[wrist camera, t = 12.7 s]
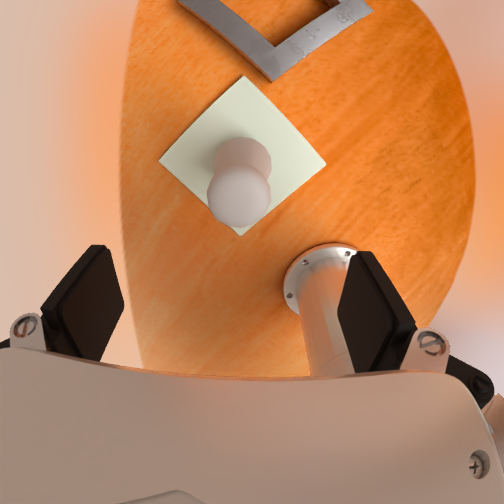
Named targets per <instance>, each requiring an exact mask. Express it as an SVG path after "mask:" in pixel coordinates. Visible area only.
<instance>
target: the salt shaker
mask: <svg viewBox="0 0 504 504" xmlns="http://www.w3.org/2000/svg"><path fill="white" fill-rule="evenodd" d="M213 170H214V176H213V177H212V179H211V181H210V184H209V186H208V189H207V200H208V207H209V209H210V211H211V213H212V214H213V216H214V217H215V219H216V220H218V221H220V222H221V223H223V224H225V225H227V226H231V227H237V228H243V227H246V226H250V225H253V224H255V223H256V222H257V221H259V220H260V219H261V218H262V217H264V216H265V213H266V211H267V209H268V207H269V204H270V201H271V195H270V185H269V183H268V182H267V180H268V178H269V176H270V173H271V171H272V163H271V156H270V154H269V153H268V151H267V149H266V148H265V146H264V145H262V144H261V143H259V142H258V141H256V140H255V139H253V138H246V137H237V138H234V139H231V140H227V141H226V142H225V143H224V144H223V145H222V146H221V147H220V148H218V149H217V152H216V154H215V157H214V159H213Z"/></svg>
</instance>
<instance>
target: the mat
mask: <svg viewBox="0 0 504 504" xmlns="http://www.w3.org/2000/svg"><path fill="white" fill-rule="evenodd" d="M237 137H246V138H253V139H255V140H256V141H258V142H259V143H261V144H262V145H264V146H265V148H266V149H267V151H268V153H269V154H270V156H271V163H272V171H271V173H270V176H269V178H268V180H267V182H268V183H269V185H270V195H271V201H270V204H269V207H268V209H267V211H266V213H265V215H266V214H268V213H269V212H270V211H271V210H272V209H274V208H275V207H276V206H277V205H278V204H280V203H281V202H282V201H283V200H284V199H285V198H287V197H288V196H289V195H290V194H291V193H293V192H294V191H295V190H296V189H297V188H299V187H300V186H301V185H302V184H303V183H305V182H306V181H307V180H308V179H309V178H311V177H312V176H313V175H314V174H316V173H317V172H318V171H319V170H320V169H322V168H323V167H324V166H325V165H326V163H325V162H324V160H323V159H322V158H321V157H320V156H319V154H318V153H317V152H316V151H315V150H314V149H313V147H312V146H311V145H310V144H309V143H308V142H307V140H306V139H305V138H304V137H303V136H302V135H301V134H300V132H299V131H298V130H297V129H296V128H295V127H294V126H293V125H292V124H291V122H290V121H289V120H288V119H287V118H286V117H285V116H284V115H283V114H282V113H281V112H280V111H279V110H278V109H277V108H276V106H275V105H274V104H273V103H272V102H271V101H270V100H269V99H268V98H267V97H266V96H265V95H264V94H263V93H262V92H261V91H260V90H259V89H258V88H257V87H256V86H255V85H254V84H253V83H252V82H251V81H249V80H248V79H247V78H246V77H245V76H243V77H242V78H240V79H239V80H238V81H237V82H236V83H235V84H234V85H232V86H231V87H230V88H229V89H228V90H227V91H226V92H225V93H224V94H223V95H222V96H220V97H219V98H218V99H217V100H216V101H215V102H214V103H213V104H212V105H211V106H210V107H209V108H208V109H207V110H206V111H205V112H204V113H203V114H202V115H201V116H200V117H199V118H198V119H197V120H196V121H195V122H194V123H193V124H192V125H191V126H190V127H189V128H188V129H187V130H186V131H185V132H184V133H183V134H182V135H181V136H180V137H179V138H178V140H177V141H176V142H175V143H174V144H173V145H172V146H171V147H170V148H169V149H168V151H167V152H166V153H165V154H164V155H163V156H162V157H161V158H160V160H159V162H160V163H161V164H162V165H163V166H164V167H165V168H166V169H168V170H169V171H170V172H171V173H172V174H173V175H174V176H175V177H176V178H177V179H179V180H180V181H181V182H182V183H183V184H184V185H185V186H186V187H187V188H188V189H189V190H190V191H192V192H193V193H194V194H195V195H196V196H197V197H198V198H199V199H200V200H201V201H202V202H204V203H205V204H206V205H207V206H208V200H207V189H208V186H209V184H210V181H211V179H212V177H213V176H214V170H213V159H214V157H215V154H216V152H217V149H218V148H220V147H221V146H222V145H223V144H224V143H225V142H226V141H227V140H231V139H234V138H237ZM262 218H263V217H262ZM262 218H261V219H262ZM261 219H260V220H261ZM257 222H258V221H257ZM257 222H256V223H257ZM256 223H255V224H256ZM255 224H253V225H250V226H246V227H243V228H237V227H231V226H230V227H231V228H232V229H233V230H234V231H235V232H236V233H237V234H238V235H239V236H240V237H241V236H242V235H243V234H244V233H245V232H246V231H248V230H249V229H250V228H251V227H252V226H254V225H255Z"/></svg>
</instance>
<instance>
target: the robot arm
mask: <svg viewBox="0 0 504 504" xmlns="http://www.w3.org/2000/svg"><path fill="white" fill-rule="evenodd" d="M283 292H284V298H285V300H286V303H287V305H288V306H289V307H290V309H291V310H292V311H293V312H295V313H296V314H297V315H299V316H300V320H301V325H302V330H303V335H304V341H305V346H306V352H307V357H308V363H309V369H310V374H311V376H307V377H228V376H209V375H195V374H183V373H173V372H163V371H155V370H147V369H139V368H133V367H126V366H120V365H114V364H108V363H103V362H100V360H101V357H102V355H103V353H104V351H105V348H106V346H107V344H108V342H109V339H110V337H111V335H112V333H113V331H114V329H115V327H116V324H117V322H118V320H119V318H120V316H121V314H122V312H123V310H124V300H123V297H122V293H121V290H120V286H119V283H118V279H117V276H116V272H115V268H114V264H113V260H112V256H111V252H110V250H109V249H107V247H106V246H105V245H91V246H90V247H89V248H88V249H87V250H86V252H85V253H84V254H83V255H82V256H81V257H80V258H79V260H78V261H77V262H76V263H75V264H74V265H73V267H72V268H71V269H70V270H69V272H68V273H67V274H66V275H65V276H64V278H63V279H62V280H61V281H60V283H59V284H58V285H57V286H56V288H55V289H54V290H53V292H52V293H51V294H50V296H49V297H48V298H47V300H46V301H45V302H44V304H43V305H42V306H41V308H40V309H41V311H42V313H43V315H42V316H41V317H40V316H39V315H38V314H35V313H28V314H24V315H22V316H20V317H19V318H18V319H17V320H16V321H15V322H14V323H13V324H12V326H11V328H10V338H9V339H7V340H5V341H3V342H0V504H504V398H503V397H502V396H501V395H500V394H499V393H498V394H497V395H496V396H495V395H494V386H493V383H492V381H491V379H490V378H489V377H488V376H487V375H486V374H484V373H483V372H482V371H480V370H478V369H476V368H474V367H472V366H470V365H468V364H466V363H464V362H463V361H461V360H459V359H457V358H455V357H453V356H451V355H449V353H450V345H449V342H448V340H447V339H446V337H445V336H444V335H442V334H441V333H440V332H438V331H437V330H435V329H432V328H420V329H417V327H416V325H415V323H416V322H415V320H414V318H413V317H412V315H411V313H410V312H409V310H408V308H407V306H406V305H405V303H404V301H403V300H402V298H401V296H400V295H399V293H398V292H397V290H396V288H395V287H394V285H393V284H392V282H391V280H390V279H389V277H388V276H387V274H386V273H385V271H384V270H383V268H382V266H381V265H380V263H379V262H378V260H377V259H376V257H375V256H374V254H373V253H372V252H371V251H359V250H358V249H356V248H354V247H352V246H350V245H346V244H341V243H330V244H323V245H320V246H316V247H314V248H312V249H310V250H308V251H306V252H304V253H303V254H302V255H300V256H299V257H298V258H297V259H296V260H295V261H294V262H293V263H292V264H291V266H290V267H289V269H288V270H287V272H286V275H285V277H284V282H283Z"/></svg>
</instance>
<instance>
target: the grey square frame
mask: <svg viewBox="0 0 504 504" xmlns="http://www.w3.org/2000/svg"><path fill="white" fill-rule="evenodd" d="M176 1H177V2H178V3H179V4H180V5H181V6H182V7H183V8H185V9H186V10H187V11H189V12H190V13H192V14H193V15H194V16H196V17H197V18H198V19H199V20H201V21H202V22H203V23H205V24H206V25H207V26H208V27H210V28H211V29H212V30H213V31H215V32H216V33H217V34H218V35H219V36H221V37H222V38H223V39H224V40H225V41H226V42H228V43H229V44H230V45H231V46H232V47H233V48H235V49H236V50H237V51H238V52H239V53H240V54H241V55H242V56H243V57H245V58H246V59H247V60H248V61H249V62H250V63H251V64H252V65H253V66H254V67H255V68H256V69H257V70H258V71H260V72H261V73H262V74H263V75H264V76H265V77H266V78H267V79H268V80H269V81H270V82H271V83H272V82H274V81H275V80H276V79H277V78H279V77H280V76H281V75H282V74H284V73H285V72H286V71H287V70H289V69H290V68H291V67H292V66H294V65H295V64H296V63H298V62H299V61H300V60H302V59H303V58H304V57H306V56H307V55H308V54H310V53H311V52H312V51H314V50H315V49H317V48H318V47H319V46H321V45H322V44H324V43H325V42H326V41H328V40H329V39H331V38H332V37H334V36H335V35H337V34H338V33H340V32H341V31H343V30H344V29H346V28H347V27H349V26H350V25H352V24H354V23H355V22H357V21H358V20H360V19H362V18H363V17H365V16H367V15H368V14H370V13H371V12H373V10H372V9H371V8H370V7H369V6H368V5H367V3H366V2H365V1H364V0H323V1H324V2H325V3H326V4H327V5H328V6H329V7H330V8H331V9H330V10H329V11H327V12H325V13H324V14H322V15H321V16H319V17H318V18H316V19H315V20H313V21H312V22H310V23H309V24H307V25H306V26H304V27H303V28H301V29H300V30H298V31H297V32H296V33H294V34H293V35H291V36H290V37H289V38H287V39H286V40H285V41H283V42H282V43H280V44H279V45H278V46H277V47H274V46H273V45H272V44H271V43H269V42H268V41H267V40H266V39H265V38H264V37H263V36H262V35H261V34H260V33H258V32H257V31H256V30H255V29H254V28H253V27H252V26H250V25H249V24H248V23H247V22H246V21H244V20H243V19H242V18H241V17H240V16H238V15H237V14H236V13H235V12H233V11H232V10H231V9H230V8H228V7H227V6H226V5H224V4H223V3H222V2H220V1H219V0H176Z"/></svg>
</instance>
